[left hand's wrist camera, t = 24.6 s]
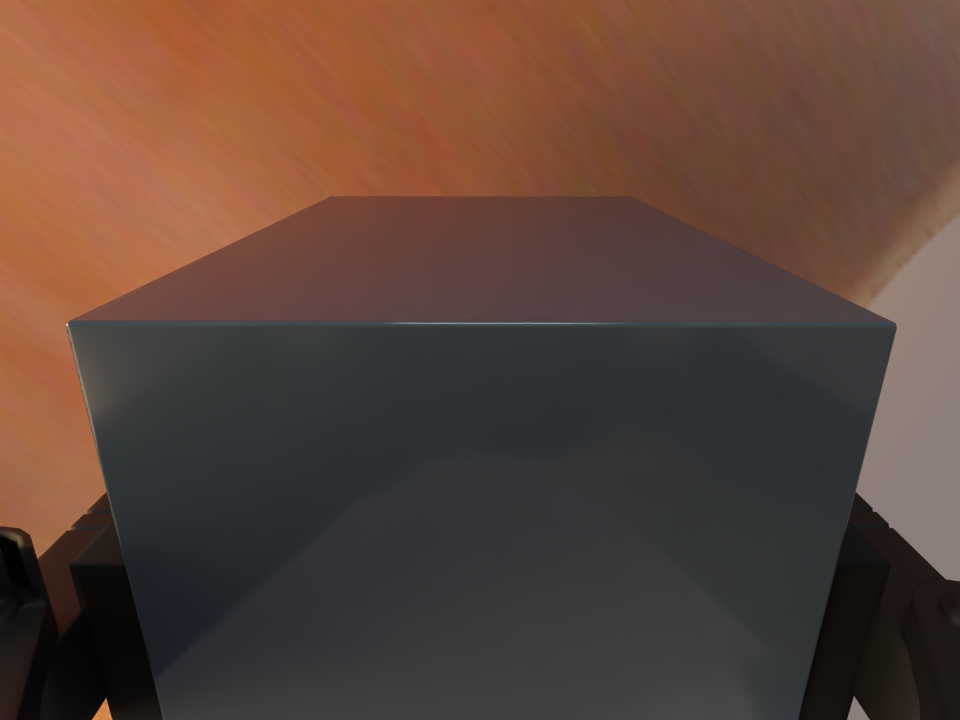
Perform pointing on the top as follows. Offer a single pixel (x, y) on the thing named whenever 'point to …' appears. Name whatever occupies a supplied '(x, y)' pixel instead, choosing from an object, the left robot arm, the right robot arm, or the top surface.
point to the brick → (480, 464)
